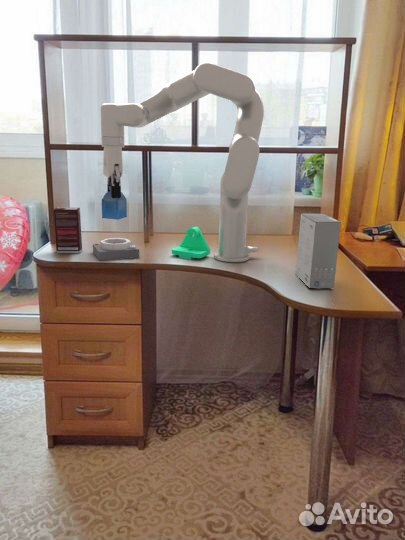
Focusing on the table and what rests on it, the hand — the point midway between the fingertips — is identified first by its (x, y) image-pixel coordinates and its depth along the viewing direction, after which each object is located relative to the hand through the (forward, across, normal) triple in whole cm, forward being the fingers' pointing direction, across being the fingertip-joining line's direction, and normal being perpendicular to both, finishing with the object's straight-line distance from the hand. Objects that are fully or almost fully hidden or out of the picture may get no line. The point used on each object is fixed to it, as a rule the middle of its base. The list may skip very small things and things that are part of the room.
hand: (114, 196), depth 166 cm
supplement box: (+21, -9, -15) cm, 27 cm away
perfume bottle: (+8, 0, 0) cm, 8 cm away
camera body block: (+21, 0, 0) cm, 21 cm away
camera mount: (+21, +9, +25) cm, 34 cm away
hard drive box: (+21, +49, +50) cm, 73 cm away
